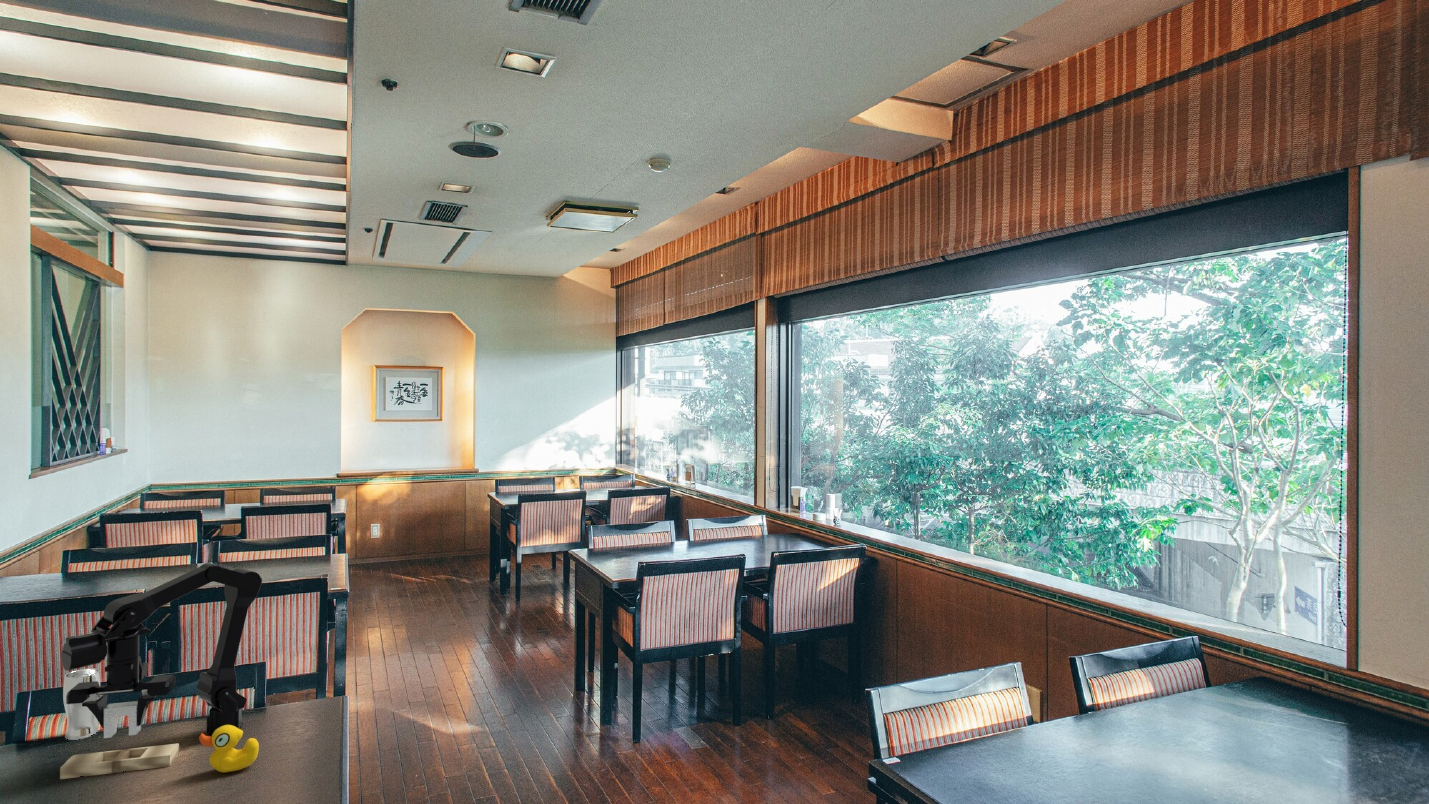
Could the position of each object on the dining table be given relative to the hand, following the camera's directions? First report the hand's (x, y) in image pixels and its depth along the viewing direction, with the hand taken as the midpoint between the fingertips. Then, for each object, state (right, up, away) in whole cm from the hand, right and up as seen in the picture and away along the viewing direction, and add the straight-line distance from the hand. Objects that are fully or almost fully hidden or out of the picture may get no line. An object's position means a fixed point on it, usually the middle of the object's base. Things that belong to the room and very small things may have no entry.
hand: (122, 727), depth 171 cm
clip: (0, -2, 0) cm, 2 cm away
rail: (0, -9, 0) cm, 9 cm away
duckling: (+24, -9, -1) cm, 26 cm away
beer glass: (-21, -8, +15) cm, 27 cm away
